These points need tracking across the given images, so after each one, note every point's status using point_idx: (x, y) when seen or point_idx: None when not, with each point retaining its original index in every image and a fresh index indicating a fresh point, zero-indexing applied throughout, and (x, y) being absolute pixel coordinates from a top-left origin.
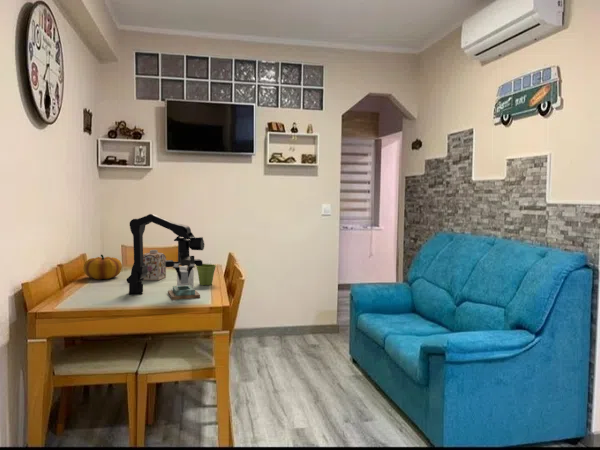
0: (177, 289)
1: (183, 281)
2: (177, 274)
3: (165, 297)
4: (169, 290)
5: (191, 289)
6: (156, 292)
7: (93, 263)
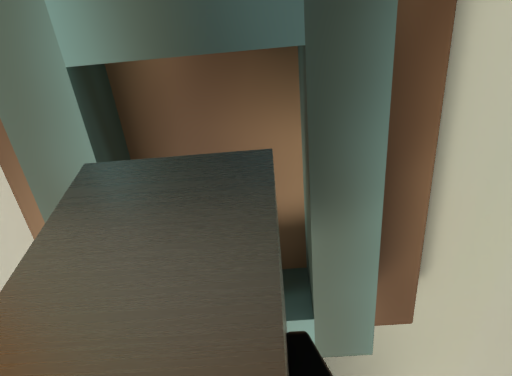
0: (341, 109)
1: (201, 186)
2: None
3: (498, 86)
4: (392, 322)
5: (40, 41)
6: (507, 351)
7: None
